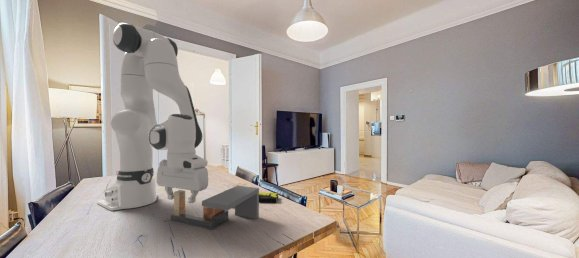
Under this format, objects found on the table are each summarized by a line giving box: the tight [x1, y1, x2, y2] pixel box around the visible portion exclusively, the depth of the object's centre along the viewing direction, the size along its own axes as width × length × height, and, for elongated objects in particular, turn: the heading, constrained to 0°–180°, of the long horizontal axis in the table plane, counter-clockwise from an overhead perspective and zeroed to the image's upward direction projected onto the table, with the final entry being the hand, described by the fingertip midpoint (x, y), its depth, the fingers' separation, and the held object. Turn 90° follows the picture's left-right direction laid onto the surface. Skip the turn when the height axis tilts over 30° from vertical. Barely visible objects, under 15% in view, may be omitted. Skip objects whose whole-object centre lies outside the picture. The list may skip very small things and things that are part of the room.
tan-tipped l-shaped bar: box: [170, 189, 229, 230], centre depth 73 cm, size 18×8×10 cm, turn 69°
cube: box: [202, 206, 223, 220], centre depth 73 cm, size 5×5×5 cm
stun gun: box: [232, 191, 279, 210], centre depth 90 cm, size 3×19×15 cm
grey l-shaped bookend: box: [201, 185, 260, 220], centre depth 68 cm, size 9×18×10 cm, turn 160°
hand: (181, 200), depth 73 cm, fingers open, 8 cm apart
